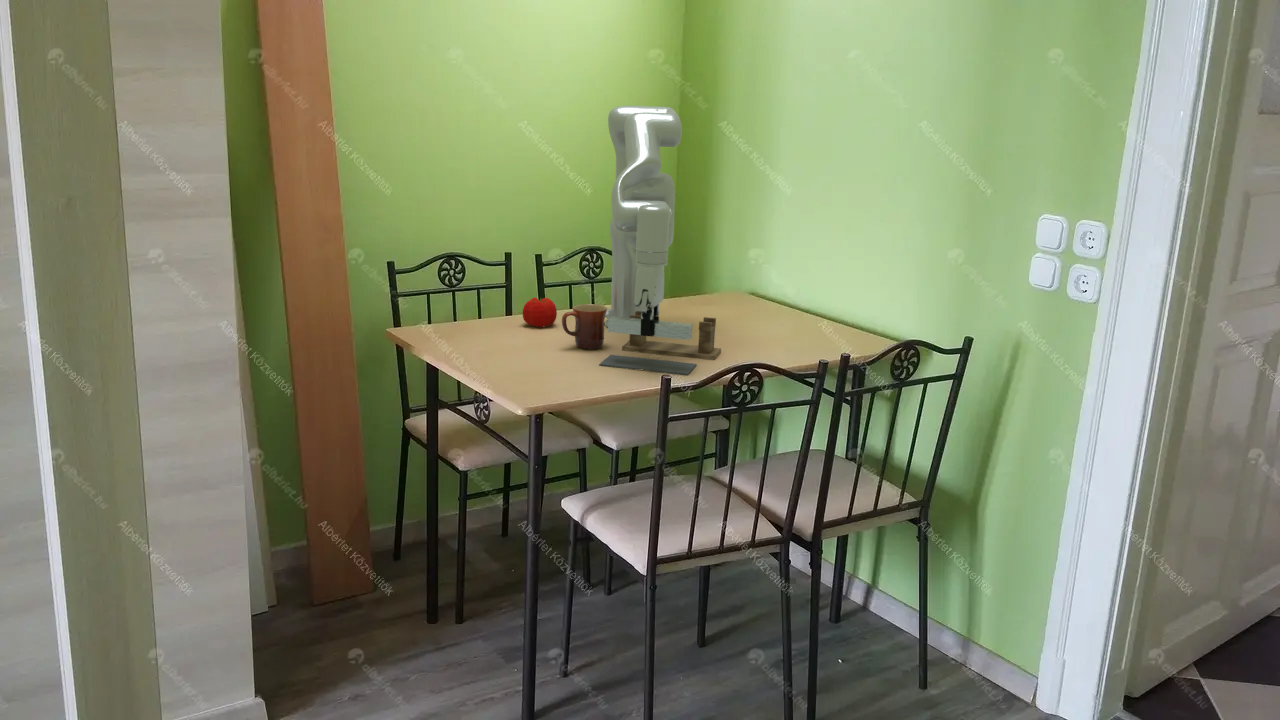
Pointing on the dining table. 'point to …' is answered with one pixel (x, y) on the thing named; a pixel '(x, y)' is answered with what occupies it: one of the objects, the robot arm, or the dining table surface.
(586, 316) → the mug
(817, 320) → the dining table surface
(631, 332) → the rail
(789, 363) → the dining table surface
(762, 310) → the dining table surface
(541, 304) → the tomato
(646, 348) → the rack
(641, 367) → the mat
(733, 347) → the dining table surface
